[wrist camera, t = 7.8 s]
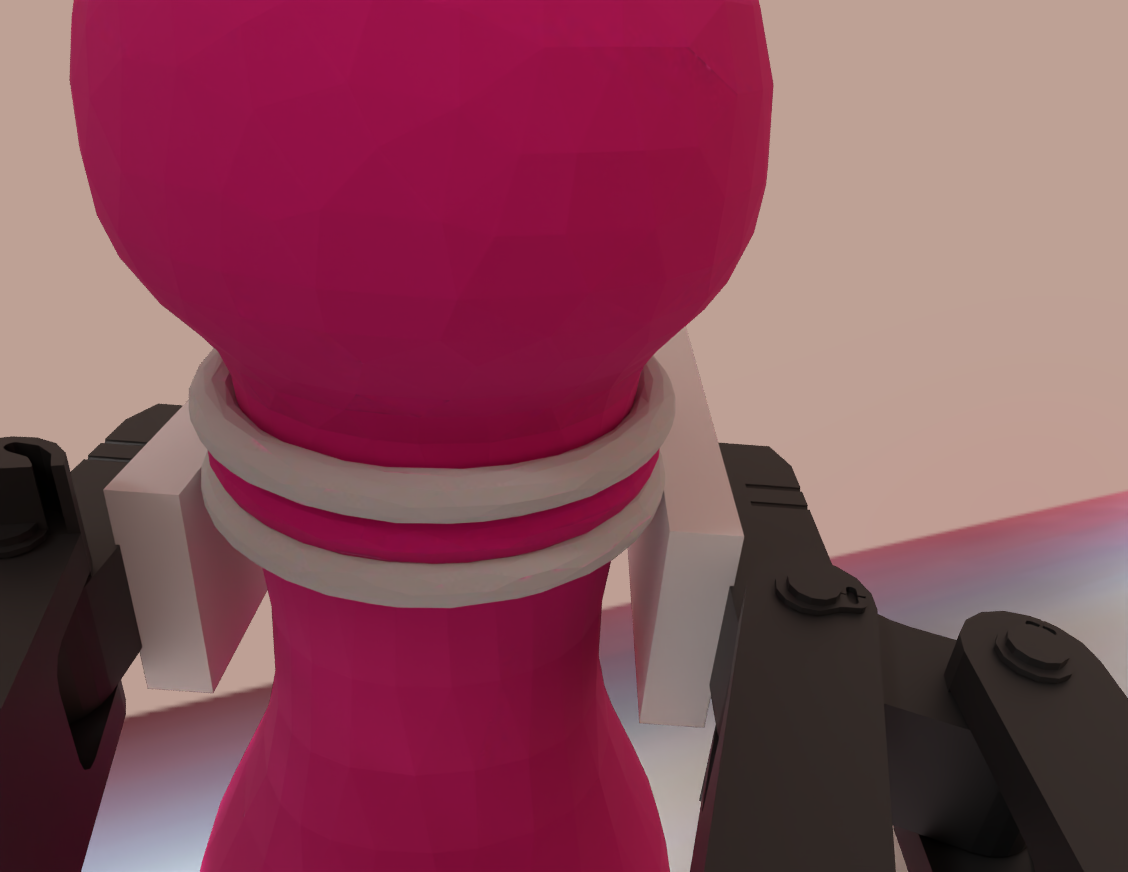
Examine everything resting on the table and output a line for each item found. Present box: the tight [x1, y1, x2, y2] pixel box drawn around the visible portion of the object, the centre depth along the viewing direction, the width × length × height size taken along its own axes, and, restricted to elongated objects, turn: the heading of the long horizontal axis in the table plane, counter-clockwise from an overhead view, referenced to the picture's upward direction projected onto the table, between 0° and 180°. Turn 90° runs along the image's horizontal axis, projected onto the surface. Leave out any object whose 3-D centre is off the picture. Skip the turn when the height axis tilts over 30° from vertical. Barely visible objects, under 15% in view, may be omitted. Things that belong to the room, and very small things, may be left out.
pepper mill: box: [70, 0, 773, 872], centre depth 11 cm, size 7×7×20 cm
